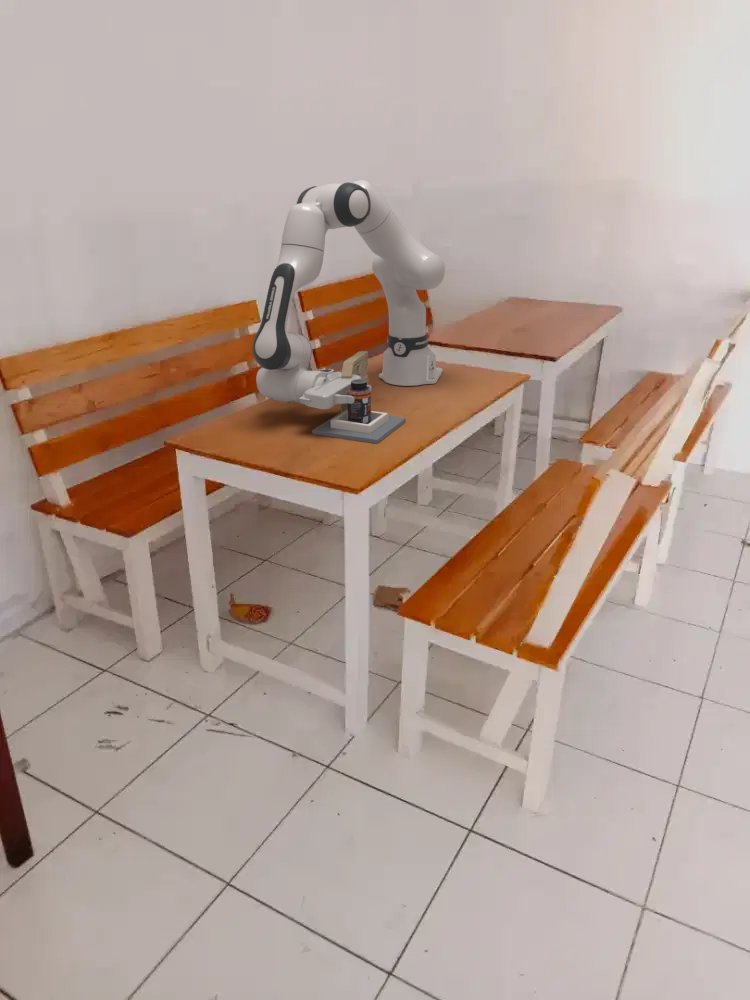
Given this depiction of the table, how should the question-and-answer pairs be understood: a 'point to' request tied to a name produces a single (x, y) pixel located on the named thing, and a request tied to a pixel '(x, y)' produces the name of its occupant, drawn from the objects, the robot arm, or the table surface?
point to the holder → (360, 427)
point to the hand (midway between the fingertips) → (362, 394)
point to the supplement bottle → (360, 402)
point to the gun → (355, 369)
